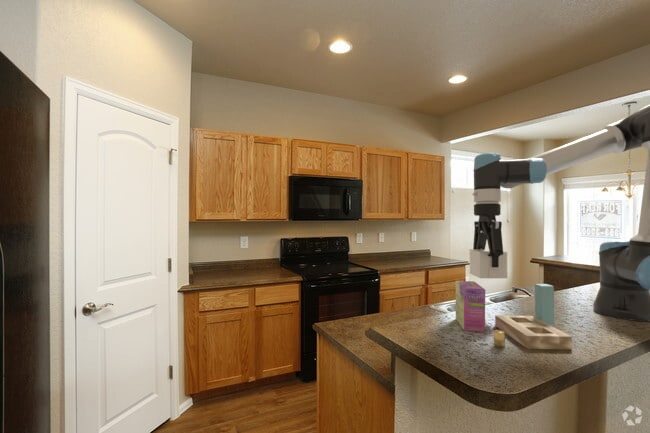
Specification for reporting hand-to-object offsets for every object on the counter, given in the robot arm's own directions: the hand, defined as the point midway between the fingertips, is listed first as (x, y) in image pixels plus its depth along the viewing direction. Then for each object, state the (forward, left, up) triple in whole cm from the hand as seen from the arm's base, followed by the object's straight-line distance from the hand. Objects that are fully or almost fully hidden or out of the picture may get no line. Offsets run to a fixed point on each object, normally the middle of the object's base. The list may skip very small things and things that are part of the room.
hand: (487, 275), depth 100 cm
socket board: (-3, +17, -13) cm, 22 cm away
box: (+9, +9, -13) cm, 18 cm away
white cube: (0, 0, 0) cm, 0 cm away
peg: (-11, +10, -13) cm, 20 cm away
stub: (+8, +24, -13) cm, 28 cm away
